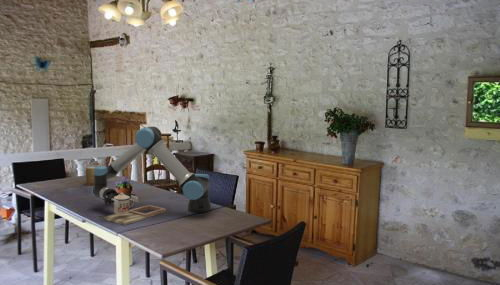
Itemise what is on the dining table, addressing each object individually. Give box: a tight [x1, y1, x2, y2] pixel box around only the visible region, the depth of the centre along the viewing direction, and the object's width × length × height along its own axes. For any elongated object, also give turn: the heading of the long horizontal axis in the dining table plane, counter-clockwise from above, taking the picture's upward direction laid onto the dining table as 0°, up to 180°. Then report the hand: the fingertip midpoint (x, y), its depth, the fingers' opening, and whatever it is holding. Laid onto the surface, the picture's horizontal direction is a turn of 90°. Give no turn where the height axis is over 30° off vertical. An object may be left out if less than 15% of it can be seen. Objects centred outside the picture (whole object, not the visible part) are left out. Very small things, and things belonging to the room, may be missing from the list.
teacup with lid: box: [113, 192, 135, 215], centre depth 241 cm, size 12×9×12 cm
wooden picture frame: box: [129, 204, 167, 219], centre depth 257 cm, size 15×18×2 cm
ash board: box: [103, 213, 146, 226], centre depth 242 cm, size 18×15×2 cm
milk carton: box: [85, 159, 104, 187], centre depth 332 cm, size 10×11×19 cm
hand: (127, 201), depth 238 cm, fingers closed on teacup with lid, 12 cm apart
